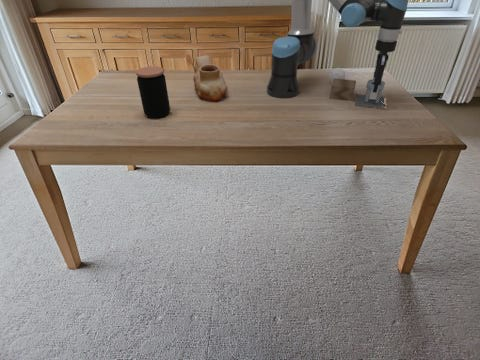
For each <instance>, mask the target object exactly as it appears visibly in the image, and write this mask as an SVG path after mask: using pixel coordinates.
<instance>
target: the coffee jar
mask: <svg viewBox="0 0 480 360" xmlns="http://www.w3.org/2000/svg"><path fill="white" fill-rule="evenodd" d="M164 73H165V69H164V68H163V67H160V66H154V65H153V66H144V67H141V68H138V69H137V70H135V75H136V76H137V78H136V81H137V85H138V91H139V95H140V100H141V104H142V109H143V110H142V111H143V112H144V113H143V114H144V115H145V117H147V118H149V119H151V120H152V119H153V120H160V119H163V118H166V117H168V116H169V115H170V113H171V107H170V100H169V93H168V87H167V81H166V76H165V74H164Z"/></svg>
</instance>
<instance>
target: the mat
mask: <svg viewBox="0 0 480 360" xmlns="http://www.w3.org/2000/svg"><path fill="white" fill-rule="evenodd" d="M365 95H366V94H361V93H360V94H359V93H356V97H355V102H356V103H355V104H354V106H355V107H356V106H357V107H362V106H366V107H365V108H371V107H376V108H375V109H379V108H384V107H385V106H386V105H385V104H383V103H384V98H385V97H386V96H380V99H379V103H375V102H376V100H374V99H368V102H365ZM369 97H370V95H369ZM381 101H382V102H383V103H382V102H381ZM382 106H383V107H382ZM386 107H387V108H388V105H387V106H386Z"/></svg>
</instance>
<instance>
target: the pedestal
mask: <svg viewBox="0 0 480 360" xmlns="http://www.w3.org/2000/svg"><path fill="white" fill-rule="evenodd" d="M356 84H357V80H354V79H353V80H352V79H346V78H345V79H335V78H334V79H333V83H332V82H331V86H330V93H329V100H330V99H332V100H337V101H346V102H353V99H354V96H355V89H356V86H357V85H356Z"/></svg>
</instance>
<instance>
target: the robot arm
mask: <svg viewBox="0 0 480 360" xmlns="http://www.w3.org/2000/svg"><path fill="white" fill-rule="evenodd" d="M312 1H313V0H291V21H290V22H291V23H290V24H291V25H290V26H291V27H290V28H291V29H290V30H289V31H288V33H287V36H284V37H279V38H277V39H275V40H274V42H273V43H272V49H271V70H270V71H271V72H270V78H269V81H268V83H267V85H266V93H267V95H269V96H271V97H274V98H279V99H287V98H294V97H296V96H297V95H299V91H300V87H299V83H298V76H297V75H298V74H297V73H298V66H299V65H301V64H303V63H306V62H308V61H309V60H311V59H312V57H314V55H315V54H316V52H317V49H318V48H317V47H318V44H317V39H315V37H314V30H313V29H312V27H311V26H312V25H311V23H312V21H311V20H312ZM327 2H329V3H330V4H331V5H332V7H334V9H335V10H336V11H337V13H339V14H340V19H341V23H342V24H343V25H344V26H345V27H347V28H353V27H357V26H359V25H361V24H364V23H365V22H377V23H378V22H380V25H379V29H378V34H377V40H376V42H375V47H374V49H375V51H377V52H379V53H378V54H377V57H376V58H377V60H376V62H375V63H376V65H375V68H374V72H373V78H372V79H375V80H374V83H372V84H373V86H372V89H371V91H370V97H369V99H374V100H376V97H377V94H378V90H379V86H380V85H381V81H383V80H382V79H383V76H384V71H385V69H386V66H387V62H388V61H389V54H388V53H393V52H395V51H396V47H397V44H398V41H397V40H399V36H400V35H401V34H402V32H403V31H402V30H401V29H402V25H403V22H404V20H405V15H406V13H407V9H408V5H409V0H327Z"/></svg>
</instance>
